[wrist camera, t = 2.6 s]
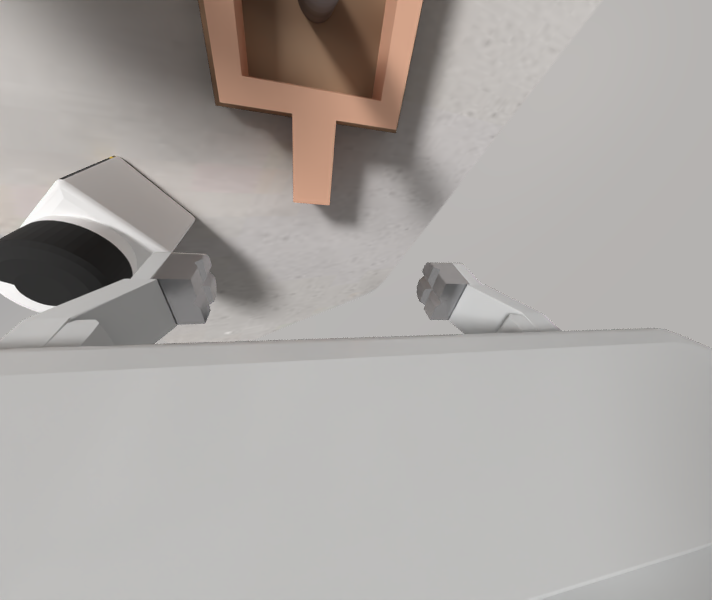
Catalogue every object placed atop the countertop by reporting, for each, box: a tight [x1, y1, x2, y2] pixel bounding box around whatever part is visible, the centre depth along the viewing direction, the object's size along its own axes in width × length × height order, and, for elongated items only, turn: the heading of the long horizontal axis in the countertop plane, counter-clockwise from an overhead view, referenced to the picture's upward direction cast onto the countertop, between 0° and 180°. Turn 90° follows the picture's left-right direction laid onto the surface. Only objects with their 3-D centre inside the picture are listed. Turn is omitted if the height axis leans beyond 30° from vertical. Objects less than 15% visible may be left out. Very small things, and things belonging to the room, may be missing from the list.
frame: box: [203, 0, 423, 205], centre depth 17 cm, size 18×12×3 cm, turn 172°
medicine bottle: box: [0, 156, 195, 313], centre depth 20 cm, size 7×7×12 cm
